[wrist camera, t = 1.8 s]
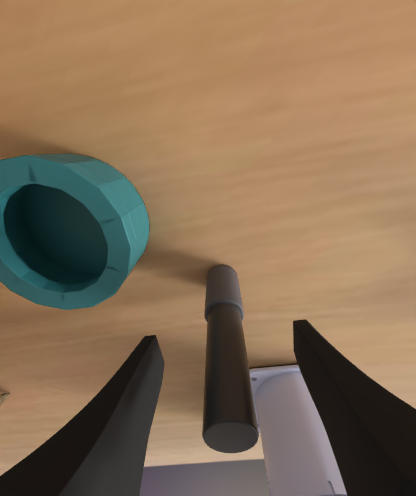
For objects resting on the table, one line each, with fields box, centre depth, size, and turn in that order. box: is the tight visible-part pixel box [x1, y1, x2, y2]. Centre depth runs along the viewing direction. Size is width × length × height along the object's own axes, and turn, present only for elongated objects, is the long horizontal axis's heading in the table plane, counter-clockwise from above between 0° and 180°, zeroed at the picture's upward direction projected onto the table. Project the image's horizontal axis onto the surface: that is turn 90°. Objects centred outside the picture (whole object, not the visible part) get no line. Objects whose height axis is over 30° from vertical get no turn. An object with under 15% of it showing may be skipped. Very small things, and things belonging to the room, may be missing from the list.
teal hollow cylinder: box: [0, 154, 149, 310], centre depth 15 cm, size 9×9×4 cm
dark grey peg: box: [202, 265, 259, 453], centre depth 13 cm, size 2×2×11 cm
